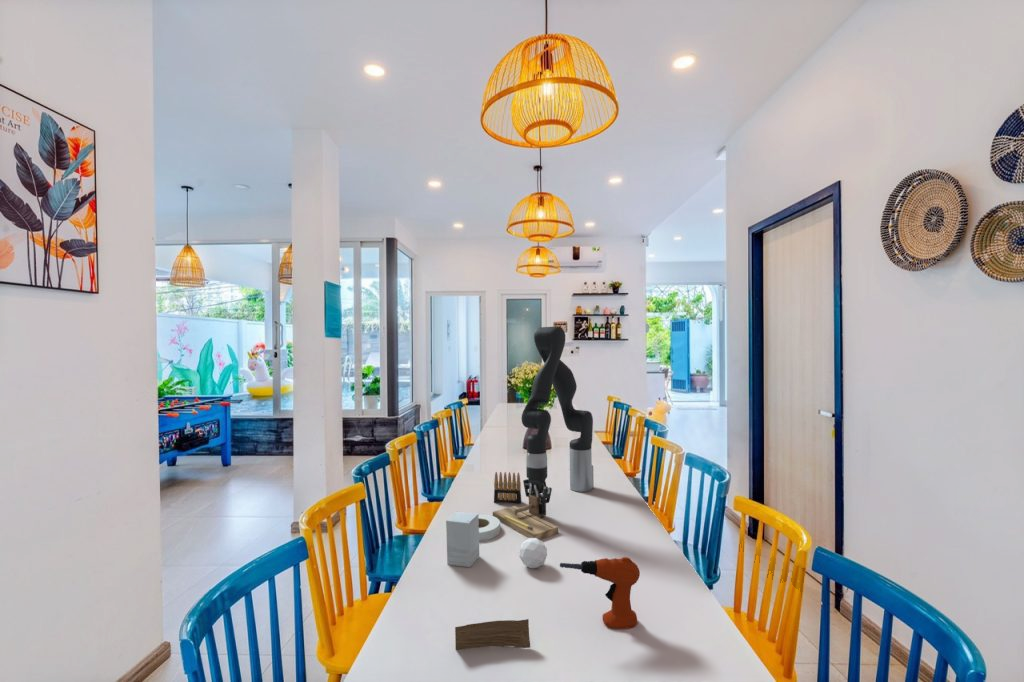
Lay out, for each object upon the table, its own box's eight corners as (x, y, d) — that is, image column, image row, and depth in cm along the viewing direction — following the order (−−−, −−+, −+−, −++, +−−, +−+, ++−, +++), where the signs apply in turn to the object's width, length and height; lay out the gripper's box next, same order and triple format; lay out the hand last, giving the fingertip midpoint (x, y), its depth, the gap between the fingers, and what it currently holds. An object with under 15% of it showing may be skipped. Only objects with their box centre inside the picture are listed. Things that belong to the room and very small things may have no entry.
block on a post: (538, 511, 166) (538, 492, 166) (546, 515, 162) (545, 495, 162) (511, 519, 159) (511, 499, 159) (518, 523, 155) (518, 503, 155)
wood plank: (455, 654, 92) (455, 630, 92) (455, 647, 94) (455, 623, 94) (530, 648, 93) (529, 624, 93) (528, 641, 95) (528, 618, 95)
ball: (540, 577, 126) (552, 561, 123) (514, 569, 125) (525, 553, 121) (540, 552, 133) (551, 536, 129) (515, 545, 132) (525, 528, 128)
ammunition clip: (521, 502, 177) (521, 471, 177) (520, 503, 175) (520, 472, 175) (494, 501, 179) (494, 470, 179) (493, 502, 177) (493, 472, 177)
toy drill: (552, 612, 103) (559, 546, 103) (632, 618, 104) (639, 553, 104) (555, 625, 98) (563, 557, 98) (639, 632, 99) (647, 564, 99)
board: (515, 511, 168) (514, 505, 168) (558, 532, 149) (558, 526, 149) (492, 517, 162) (492, 511, 162) (534, 541, 143) (534, 534, 143)
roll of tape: (445, 535, 148) (444, 527, 148) (470, 519, 162) (470, 511, 162) (485, 545, 141) (485, 536, 141) (508, 527, 155) (508, 518, 155)
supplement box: (480, 556, 133) (479, 513, 133) (469, 568, 126) (469, 523, 126) (457, 552, 136) (456, 510, 136) (446, 564, 129) (445, 520, 129)
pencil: (505, 517, 157) (505, 515, 157) (532, 529, 147) (532, 527, 147) (503, 518, 156) (503, 515, 156) (530, 530, 146) (530, 527, 146)
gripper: (557, 467, 159) (558, 515, 159) (532, 458, 171) (533, 503, 171) (541, 470, 155) (541, 520, 155) (516, 461, 166) (517, 508, 166)
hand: (537, 511), depth 163 cm, fingers closed on block on a post, 4 cm apart
